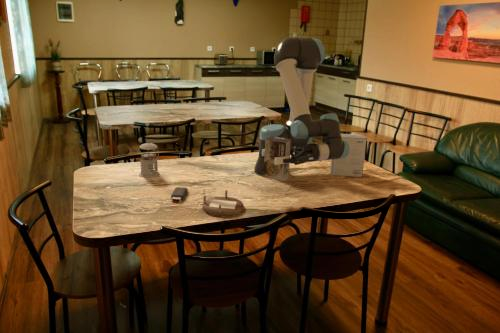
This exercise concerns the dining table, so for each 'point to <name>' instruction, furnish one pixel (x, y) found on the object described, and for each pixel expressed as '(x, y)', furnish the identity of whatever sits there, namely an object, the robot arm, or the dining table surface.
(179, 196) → the usb drive
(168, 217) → the dining table surface
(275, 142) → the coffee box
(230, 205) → the pin nest
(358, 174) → the hard drive box
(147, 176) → the french press
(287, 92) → the robot arm
